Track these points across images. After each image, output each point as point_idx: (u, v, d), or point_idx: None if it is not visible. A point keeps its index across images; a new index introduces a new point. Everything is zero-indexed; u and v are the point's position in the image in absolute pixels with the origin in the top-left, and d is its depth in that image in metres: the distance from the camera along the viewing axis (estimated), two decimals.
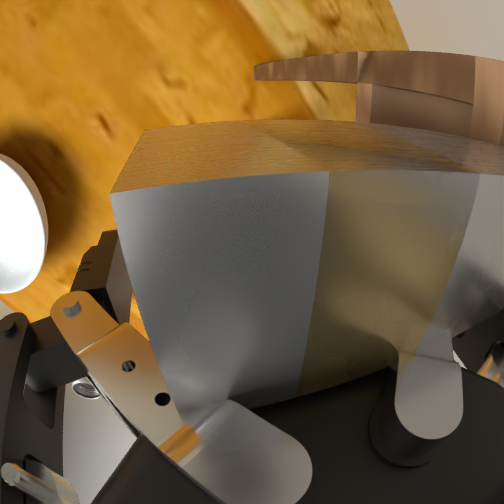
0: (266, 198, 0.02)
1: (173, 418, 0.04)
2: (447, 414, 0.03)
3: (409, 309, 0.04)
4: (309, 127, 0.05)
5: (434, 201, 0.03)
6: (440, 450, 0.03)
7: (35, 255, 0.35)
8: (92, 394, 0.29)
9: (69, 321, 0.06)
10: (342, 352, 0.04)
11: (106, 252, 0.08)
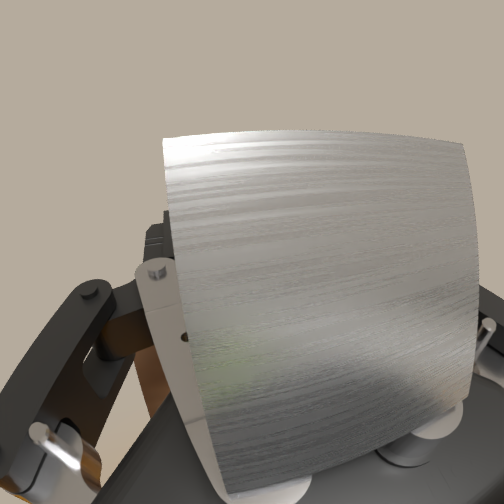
0: None
1: None
2: (447, 414, 0.03)
3: None
4: None
5: None
6: (440, 450, 0.03)
7: None
8: None
9: (160, 282, 0.07)
10: None
11: None
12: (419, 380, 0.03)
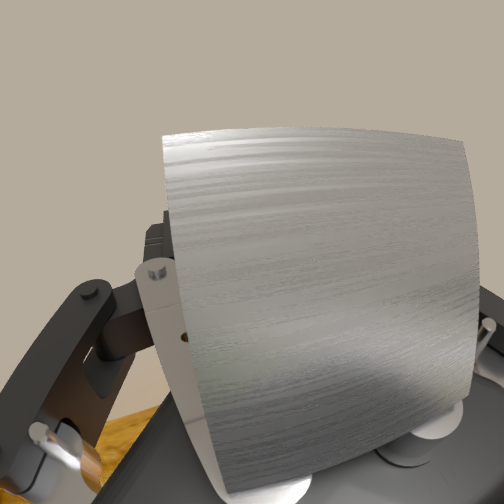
0: None
1: None
2: (447, 414, 0.03)
3: None
4: None
5: None
6: (440, 450, 0.03)
7: None
8: None
9: (160, 282, 0.07)
10: None
11: None
12: (420, 378, 0.03)
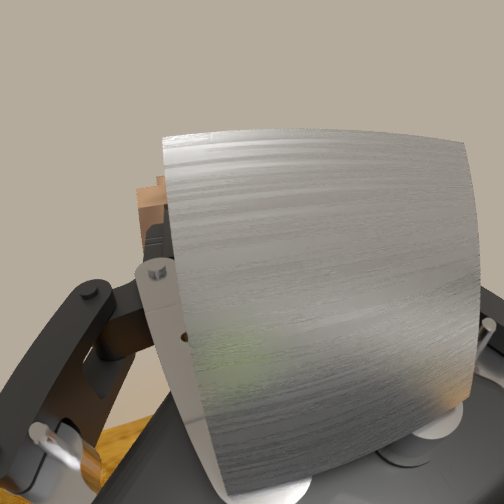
0: None
1: None
2: (447, 414, 0.03)
3: None
4: None
5: None
6: (440, 450, 0.03)
7: None
8: None
9: (160, 282, 0.07)
10: None
11: None
12: (420, 380, 0.03)
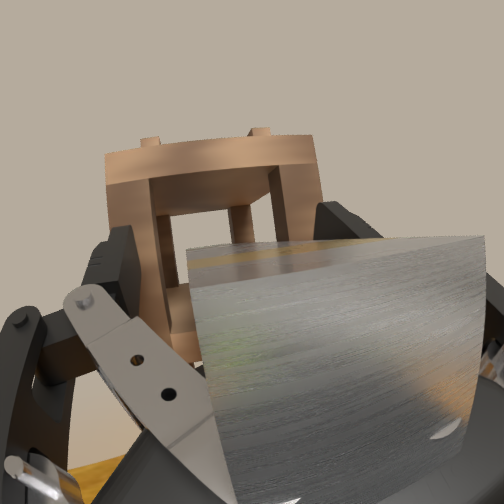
0: (205, 271, 0.03)
1: (178, 414, 0.04)
2: None
3: (292, 247, 0.06)
4: None
5: (206, 260, 0.05)
6: None
7: None
8: None
9: (83, 313, 0.06)
10: (338, 244, 0.05)
11: (117, 247, 0.09)
12: (416, 452, 0.03)
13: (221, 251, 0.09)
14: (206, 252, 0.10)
